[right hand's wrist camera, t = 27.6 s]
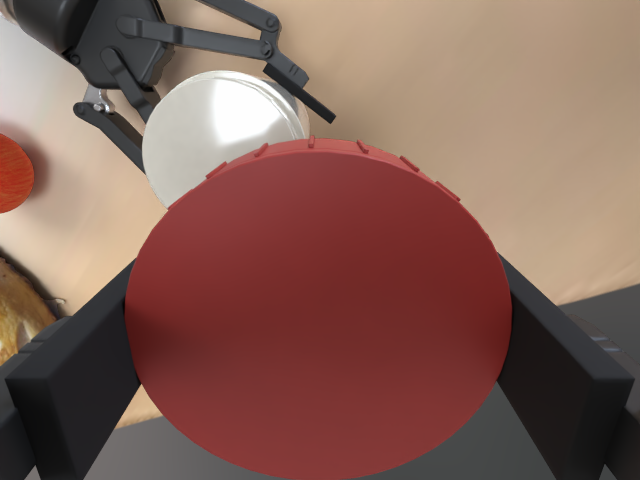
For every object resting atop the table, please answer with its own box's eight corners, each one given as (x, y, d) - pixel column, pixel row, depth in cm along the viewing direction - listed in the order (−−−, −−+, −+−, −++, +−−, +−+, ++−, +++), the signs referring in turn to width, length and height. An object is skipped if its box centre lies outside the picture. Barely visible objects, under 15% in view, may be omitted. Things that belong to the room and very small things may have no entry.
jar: (261, 192, 41) (221, 272, 23) (197, 122, 38) (96, 151, 21) (328, 134, 39) (341, 172, 21) (266, 56, 36) (220, 25, 19)
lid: (489, 117, 10) (536, 125, 8) (472, 410, 14) (501, 471, 12) (119, 153, 11) (65, 170, 8) (195, 430, 14) (172, 493, 12)
